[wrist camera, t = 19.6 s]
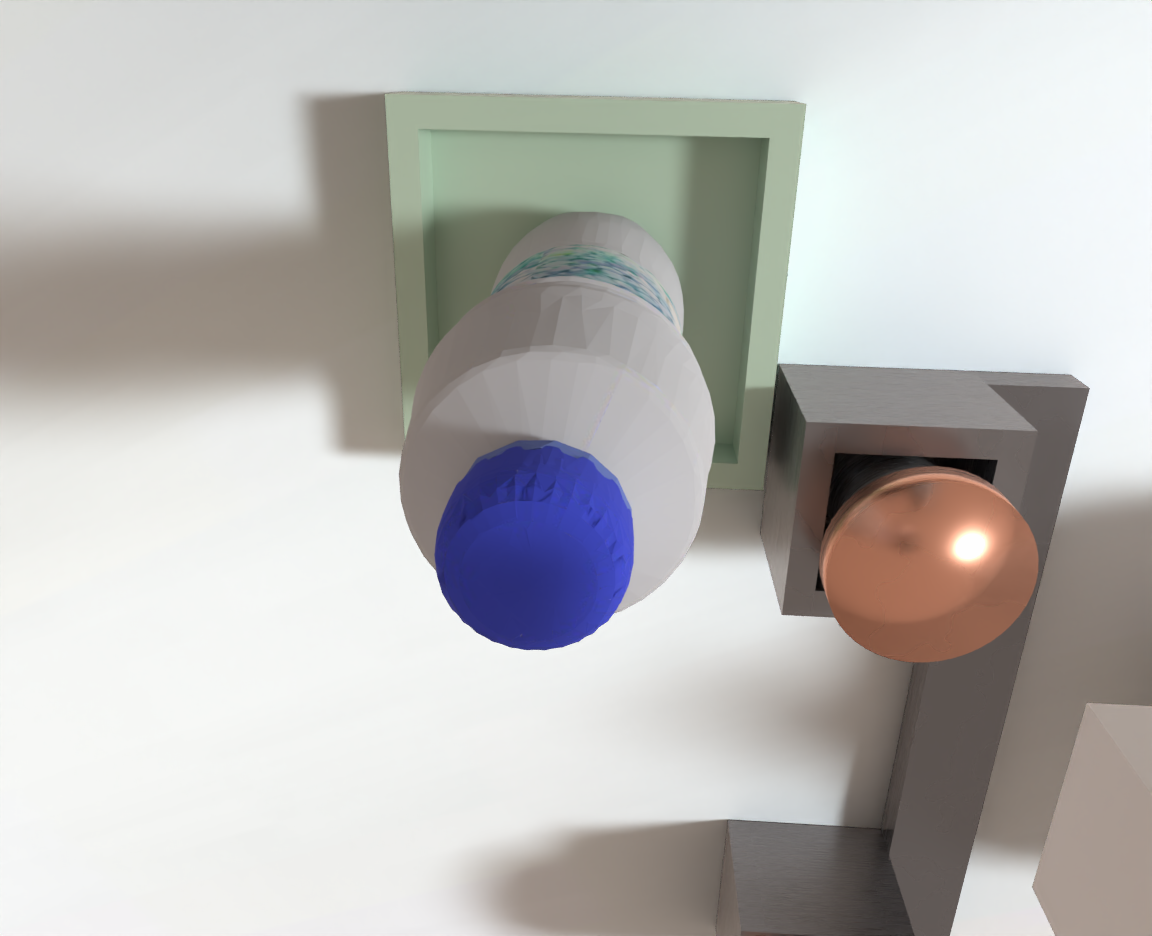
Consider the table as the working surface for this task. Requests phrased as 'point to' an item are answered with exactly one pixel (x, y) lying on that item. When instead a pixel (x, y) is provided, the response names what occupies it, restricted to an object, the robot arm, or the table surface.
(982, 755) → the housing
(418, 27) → the table surface
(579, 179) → the tray
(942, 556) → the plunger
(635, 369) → the bottle
